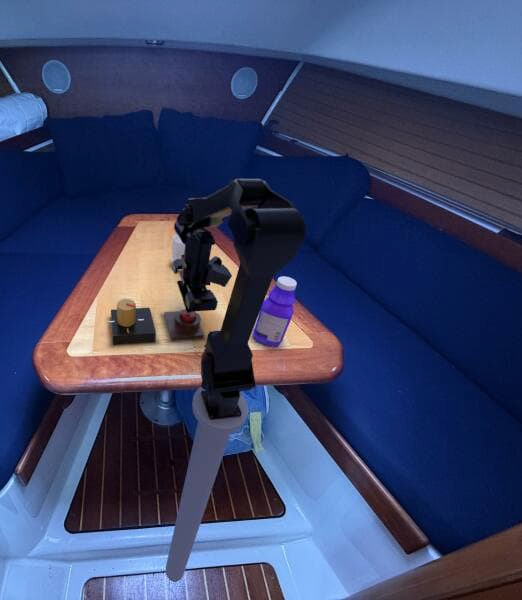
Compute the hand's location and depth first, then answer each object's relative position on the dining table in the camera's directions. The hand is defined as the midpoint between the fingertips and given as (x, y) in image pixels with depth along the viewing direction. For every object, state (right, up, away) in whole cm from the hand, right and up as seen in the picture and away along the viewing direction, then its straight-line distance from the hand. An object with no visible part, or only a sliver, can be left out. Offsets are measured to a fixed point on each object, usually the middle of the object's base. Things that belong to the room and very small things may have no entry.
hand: (188, 311), depth 79 cm
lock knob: (-15, -2, -2) cm, 16 cm away
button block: (-1, -4, +3) cm, 5 cm away
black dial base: (-14, -5, 0) cm, 15 cm away
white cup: (0, +14, +29) cm, 32 cm away
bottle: (+20, -7, +1) cm, 21 cm away
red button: (0, -2, +1) cm, 2 cm away
